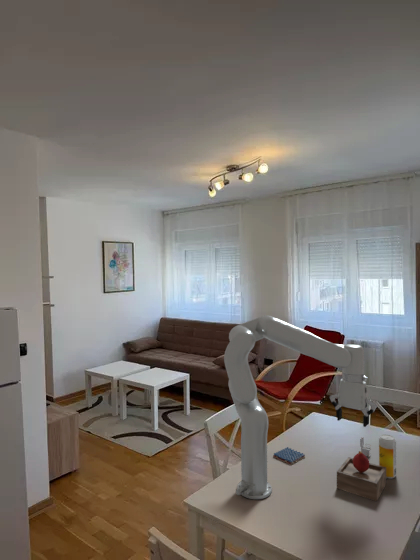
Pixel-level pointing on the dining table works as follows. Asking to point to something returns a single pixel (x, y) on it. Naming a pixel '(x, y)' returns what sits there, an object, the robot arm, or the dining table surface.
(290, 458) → the woven mat
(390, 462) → the beer can
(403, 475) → the dining table surface
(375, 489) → the walnut tray
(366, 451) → the architectural model
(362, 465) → the pomegranate
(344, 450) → the dining table surface
